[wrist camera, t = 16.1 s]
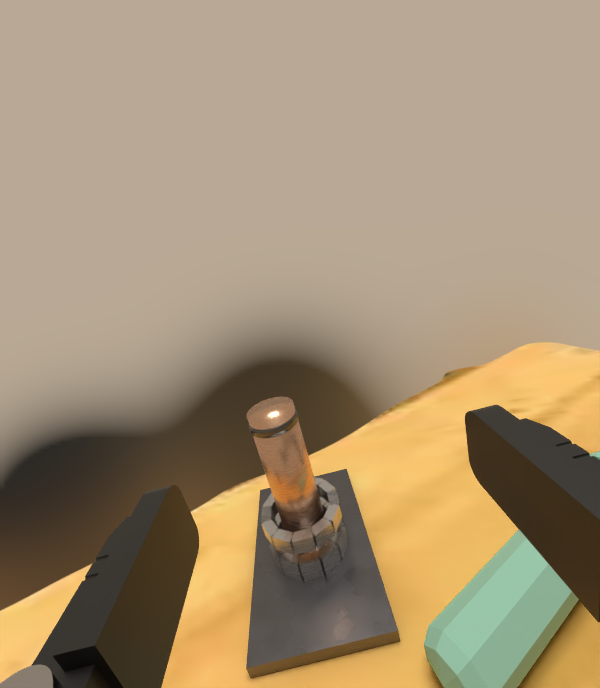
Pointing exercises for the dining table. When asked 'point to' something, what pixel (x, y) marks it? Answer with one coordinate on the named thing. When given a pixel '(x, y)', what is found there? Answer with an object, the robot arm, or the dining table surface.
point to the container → (499, 620)
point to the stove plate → (315, 585)
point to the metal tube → (286, 463)
